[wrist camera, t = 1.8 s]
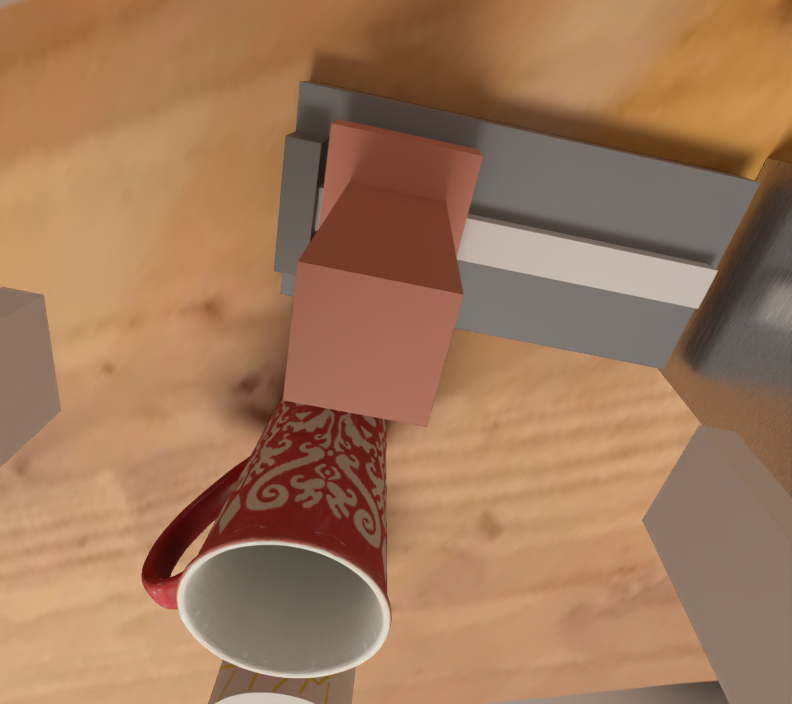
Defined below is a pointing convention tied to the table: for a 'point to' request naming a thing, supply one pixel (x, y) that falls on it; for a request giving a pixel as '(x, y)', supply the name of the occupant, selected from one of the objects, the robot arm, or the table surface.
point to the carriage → (381, 274)
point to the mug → (287, 549)
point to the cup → (280, 688)
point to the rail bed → (544, 227)
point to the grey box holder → (747, 332)
